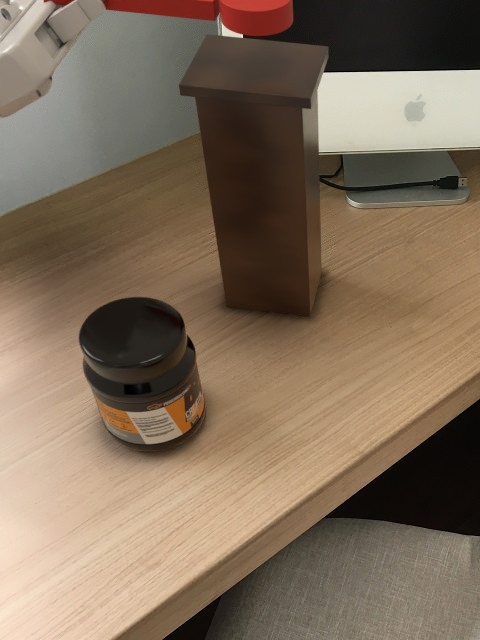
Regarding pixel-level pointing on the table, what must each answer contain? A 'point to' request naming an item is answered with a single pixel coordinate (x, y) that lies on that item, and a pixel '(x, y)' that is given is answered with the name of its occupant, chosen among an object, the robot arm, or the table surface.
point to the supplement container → (143, 373)
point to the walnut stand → (262, 166)
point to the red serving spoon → (216, 12)
